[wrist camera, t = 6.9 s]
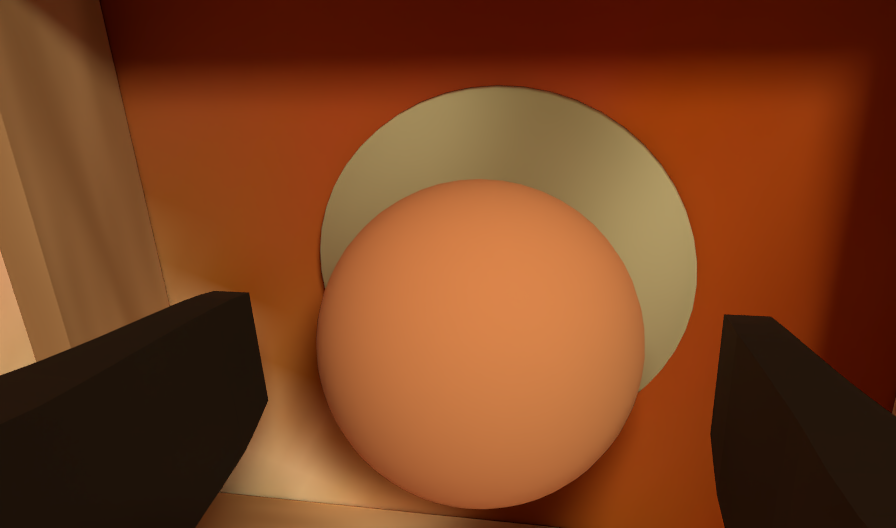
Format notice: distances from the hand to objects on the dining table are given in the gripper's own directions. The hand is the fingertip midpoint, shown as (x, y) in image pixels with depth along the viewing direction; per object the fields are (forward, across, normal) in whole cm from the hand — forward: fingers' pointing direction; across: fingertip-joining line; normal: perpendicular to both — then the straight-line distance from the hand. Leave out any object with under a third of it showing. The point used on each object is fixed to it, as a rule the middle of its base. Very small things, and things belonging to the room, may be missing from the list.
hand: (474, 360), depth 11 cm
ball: (+3, 0, 0) cm, 3 cm away
